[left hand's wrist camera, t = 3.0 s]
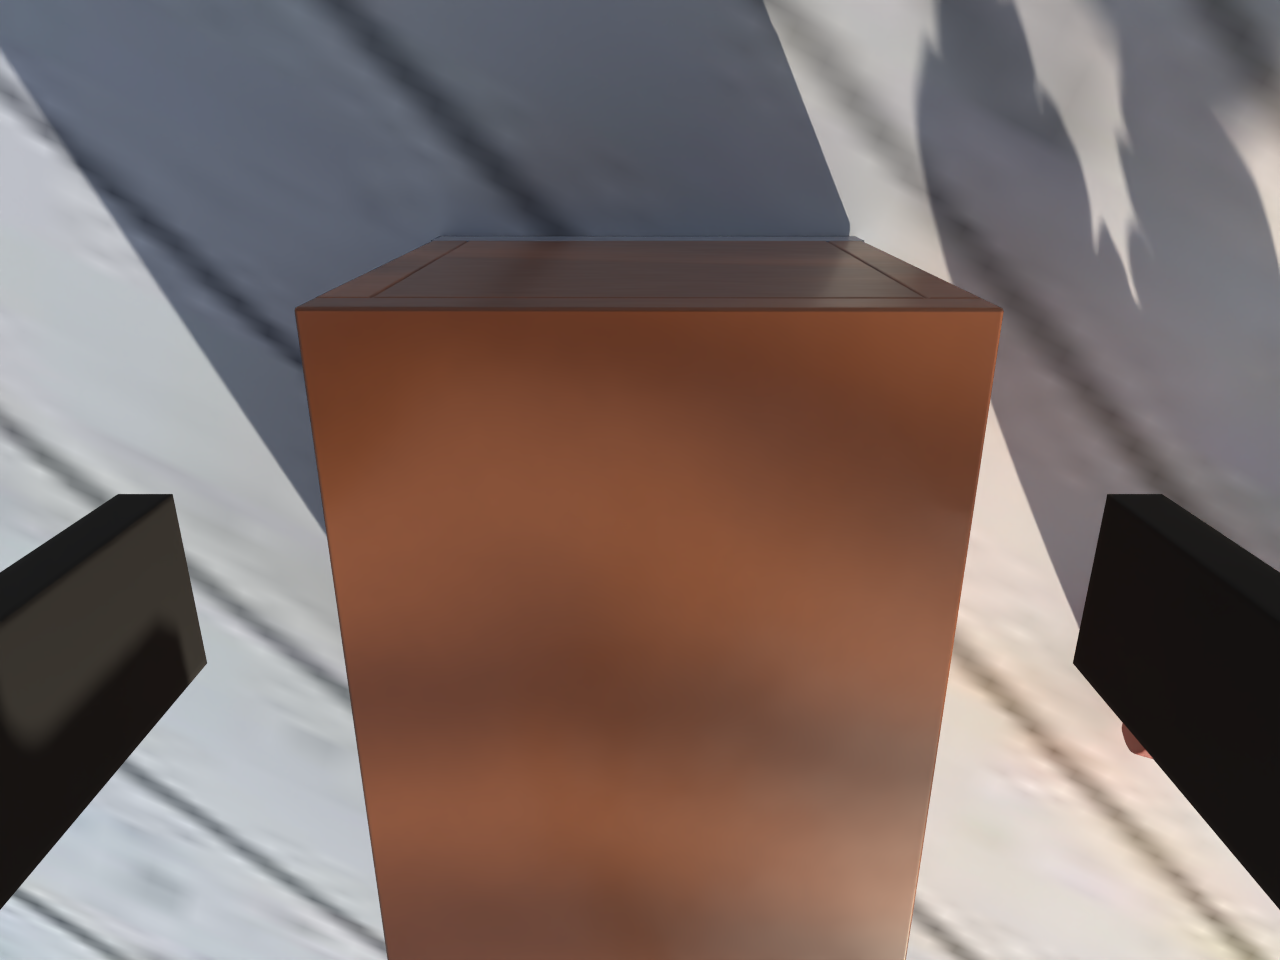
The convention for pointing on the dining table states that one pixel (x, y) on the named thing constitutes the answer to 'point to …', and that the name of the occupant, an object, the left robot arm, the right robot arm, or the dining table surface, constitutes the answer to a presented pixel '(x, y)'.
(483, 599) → the cabinet
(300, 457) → the dining table surface
